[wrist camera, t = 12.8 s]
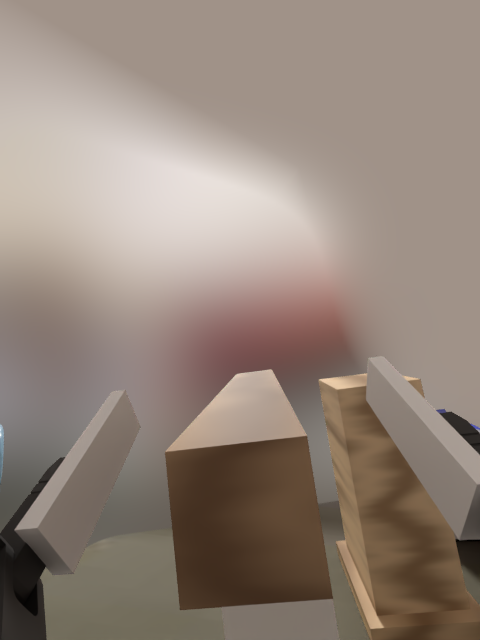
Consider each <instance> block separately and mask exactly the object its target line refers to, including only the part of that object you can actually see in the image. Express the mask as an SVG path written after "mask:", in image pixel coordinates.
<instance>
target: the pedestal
mask: <svg viewBox="0 0 480 640" xmlns="http://www.w3.org/2000/svg"><path fill="white" fill-rule="evenodd" d="M222 614H223V623H224V632H225V640H339V634H338V628H337V622H336V615H335V609H334V603H333V599H325V600H311V601H297V602H284V603H270V604H256V605H243V606H229V607H222Z"/></svg>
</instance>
